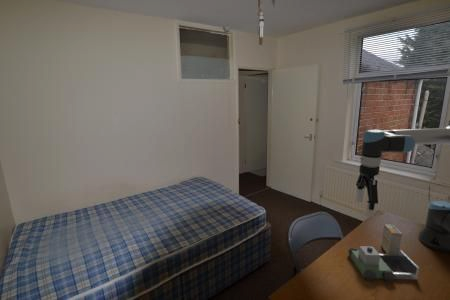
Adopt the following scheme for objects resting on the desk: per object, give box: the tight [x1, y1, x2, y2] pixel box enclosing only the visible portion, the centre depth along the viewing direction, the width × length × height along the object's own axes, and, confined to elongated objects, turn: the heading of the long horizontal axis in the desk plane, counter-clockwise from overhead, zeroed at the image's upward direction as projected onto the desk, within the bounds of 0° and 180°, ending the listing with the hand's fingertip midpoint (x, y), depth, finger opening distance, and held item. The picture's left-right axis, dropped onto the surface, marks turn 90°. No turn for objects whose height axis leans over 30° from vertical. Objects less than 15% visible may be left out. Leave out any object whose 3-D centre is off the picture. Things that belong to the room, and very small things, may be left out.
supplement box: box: [380, 223, 403, 254], centre depth 116 cm, size 8×5×13 cm, turn 168°
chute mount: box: [379, 247, 420, 281], centre depth 105 cm, size 11×13×6 cm
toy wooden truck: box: [347, 245, 396, 282], centre depth 106 cm, size 12×16×10 cm
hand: (364, 208), depth 108 cm, fingers open, 13 cm apart
